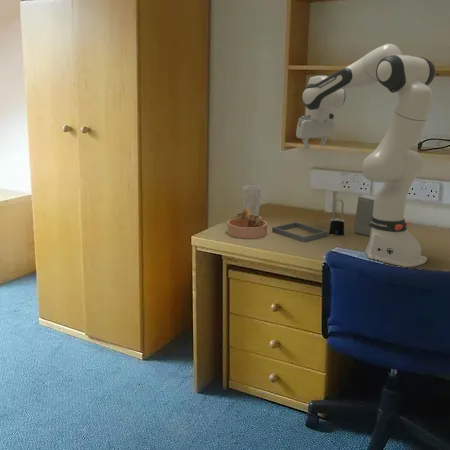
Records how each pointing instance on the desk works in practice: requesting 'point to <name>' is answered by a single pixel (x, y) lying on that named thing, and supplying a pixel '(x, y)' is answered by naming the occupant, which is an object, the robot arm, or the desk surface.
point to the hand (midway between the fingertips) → (314, 147)
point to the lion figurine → (251, 218)
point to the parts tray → (282, 231)
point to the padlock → (337, 222)
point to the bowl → (245, 229)
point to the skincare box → (364, 215)
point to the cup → (252, 198)
